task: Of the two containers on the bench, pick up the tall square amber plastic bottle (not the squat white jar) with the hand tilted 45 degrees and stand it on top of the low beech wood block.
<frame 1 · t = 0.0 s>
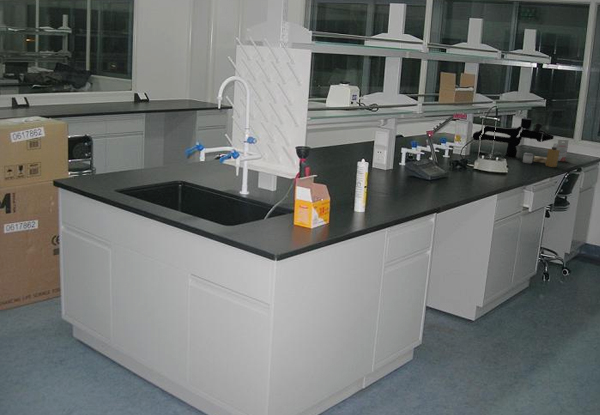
hand: (553, 137, 469), 17 cm above the countertop, tool horizontal, fingers open, 9 cm apart
beech block: (540, 162, 470), on the countertop
ink cartridge box: (557, 160, 482), on the countertop
white jar: (527, 162, 461), on the countertop
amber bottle: (550, 166, 455), on the countertop
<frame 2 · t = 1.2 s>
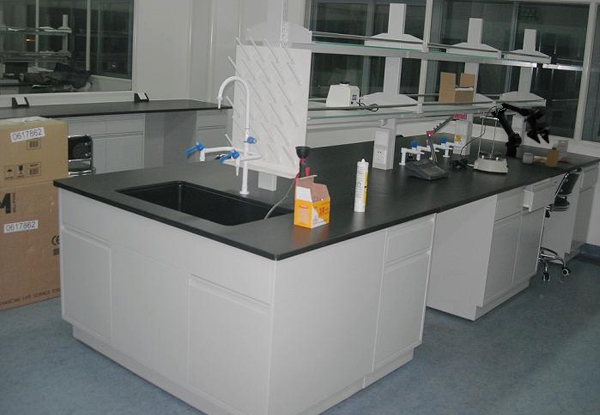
hand: (544, 143, 458), 13 cm above the countertop, tool tilted 45°, fingers open, 9 cm apart
nothing on the countertop moved.
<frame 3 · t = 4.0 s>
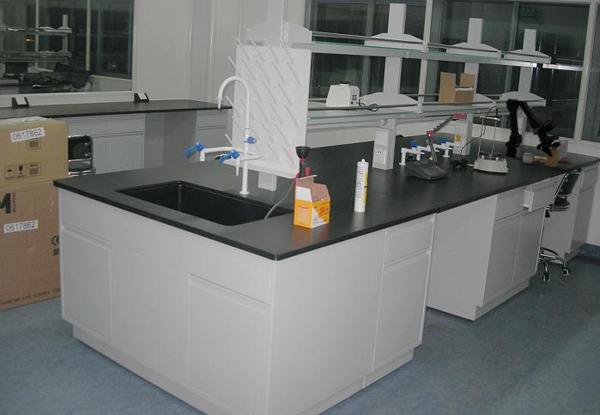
hand: (554, 156, 452), 7 cm above the countertop, tool tilted 45°, fingers closed on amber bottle, 5 cm apart
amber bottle: (550, 166, 455), on the countertop, touching gripper
everything else where it was.
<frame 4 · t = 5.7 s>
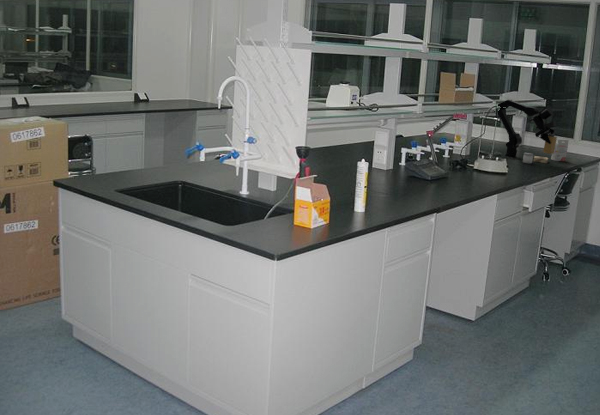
hand: (552, 143, 459), 14 cm above the countertop, tool tilted 45°, fingers closed on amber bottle, 5 cm apart
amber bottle: (548, 152, 461), point 7 cm above the countertop, touching gripper
everything else where it was.
when the fingers open (10 cm above the countertop, at t = 7.8 s): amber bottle drops 1 cm, resting on beech block.
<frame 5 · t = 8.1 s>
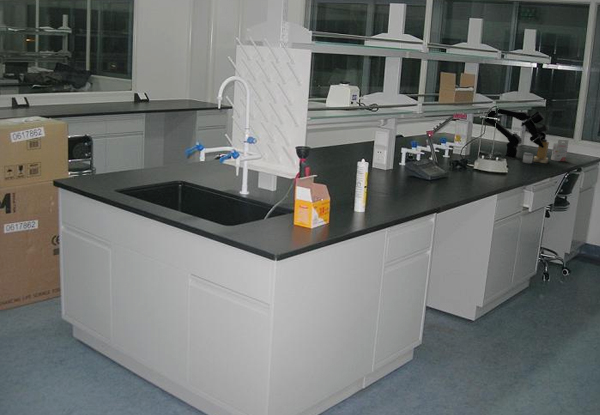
hand: (545, 146, 467), 10 cm above the countertop, tool tilted 45°, fingers open, 9 cm apart
beech block: (540, 162, 470), on the countertop, touching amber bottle
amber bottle: (541, 157, 470), point 2 cm above the countertop, touching beech block
everything else where it was.
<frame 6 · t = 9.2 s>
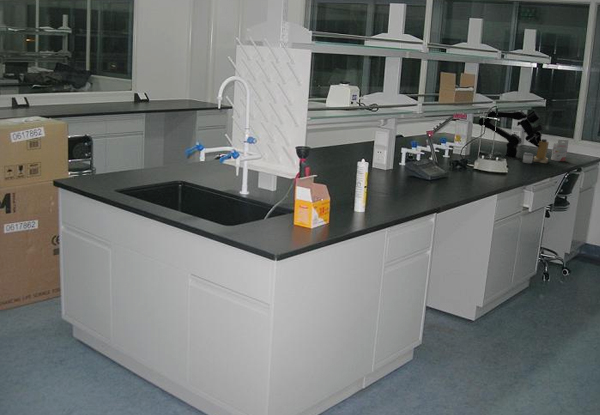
hand: (540, 146, 469), 10 cm above the countertop, tool tilted 45°, fingers open, 9 cm apart
beech block: (540, 162, 470), on the countertop
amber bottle: (540, 157, 470), point 2 cm above the countertop
everything else where it was.
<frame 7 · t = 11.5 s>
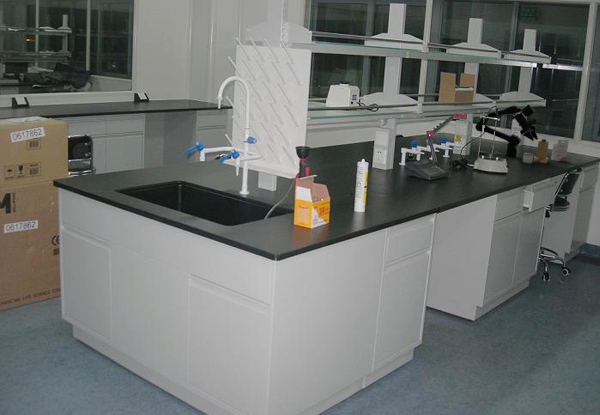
hand: (535, 140, 470), 14 cm above the countertop, tool tilted 45°, fingers open, 9 cm apart
beech block: (540, 162, 470), on the countertop, touching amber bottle
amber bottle: (541, 157, 469), point 3 cm above the countertop, touching beech block
everything else where it was.
at the end: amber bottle inside the target area on the beech block (0.1 cm from its centre), point 3.1 cm above the beech block's base; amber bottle tilted 1°; the gripper is holding nothing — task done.
